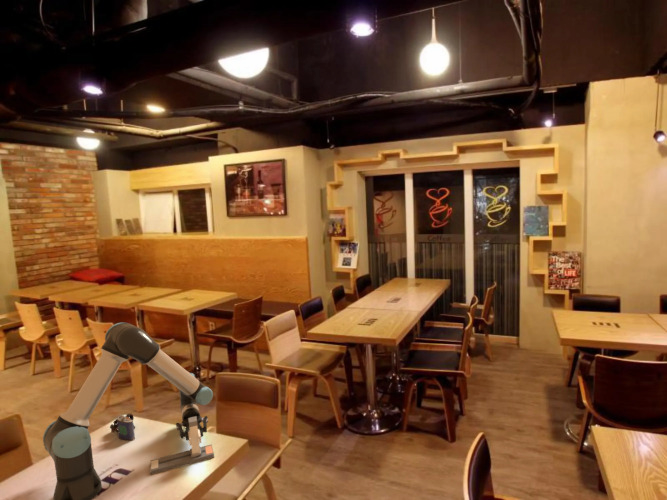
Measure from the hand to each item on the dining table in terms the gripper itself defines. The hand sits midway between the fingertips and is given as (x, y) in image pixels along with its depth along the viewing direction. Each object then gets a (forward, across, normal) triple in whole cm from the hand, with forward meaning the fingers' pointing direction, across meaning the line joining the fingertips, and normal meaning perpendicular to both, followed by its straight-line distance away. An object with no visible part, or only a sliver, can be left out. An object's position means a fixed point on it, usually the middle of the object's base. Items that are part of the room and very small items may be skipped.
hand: (195, 440), depth 168 cm
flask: (-36, +28, -10) cm, 47 cm away
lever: (-5, 0, -8) cm, 9 cm away
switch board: (-5, +5, -10) cm, 12 cm away
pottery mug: (-45, +29, -10) cm, 55 cm away
